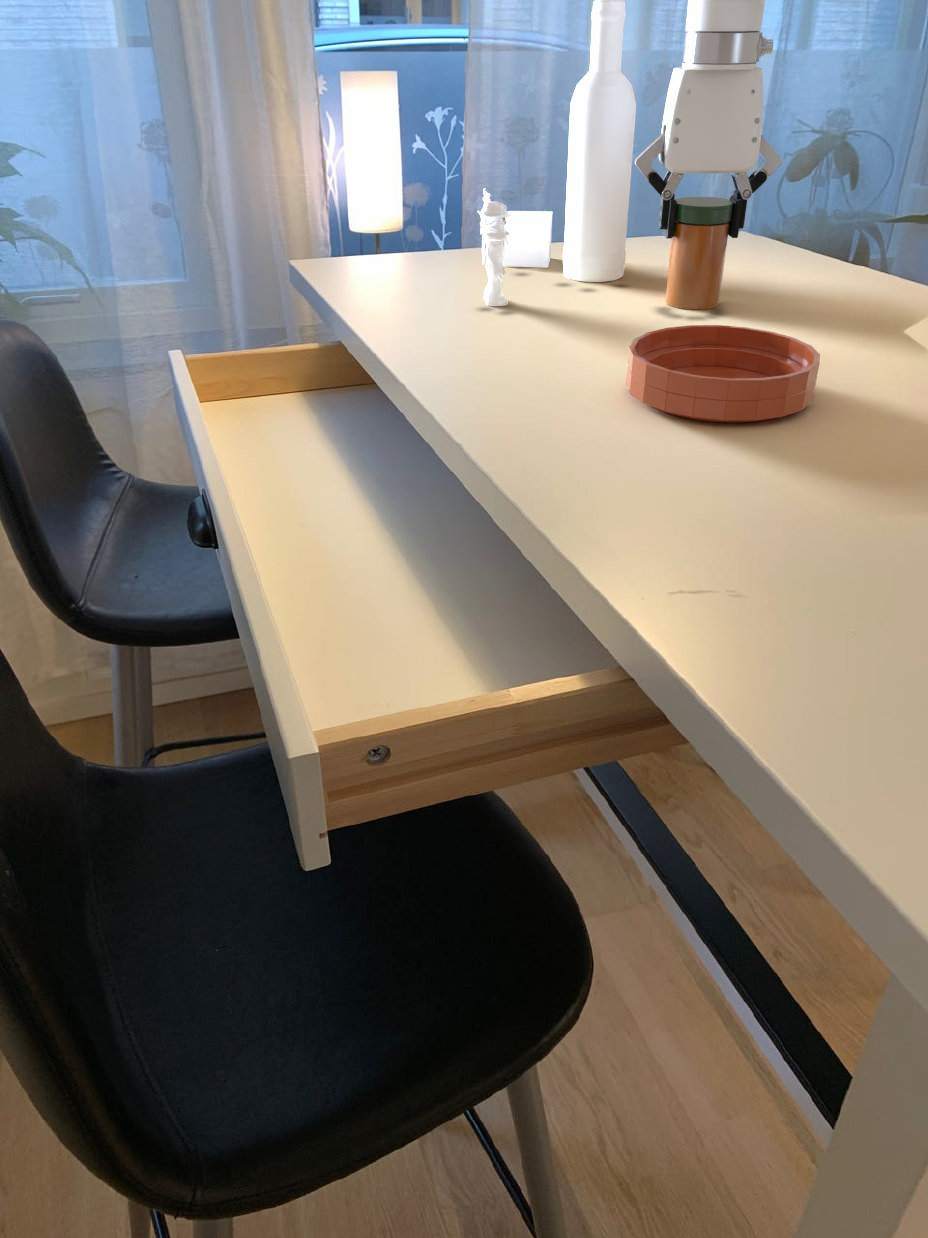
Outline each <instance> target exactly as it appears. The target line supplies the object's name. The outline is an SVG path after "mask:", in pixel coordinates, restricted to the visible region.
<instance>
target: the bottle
mask: <svg viewBox="0 0 928 1238" xmlns="http://www.w3.org/2000/svg"><path fill="white" fill-rule="evenodd" d="M592 4H593V5H592V11H591V14H590V15H591V16H590V18H591V40H590V56H589V57H590V59H589V60H590V61H589V70H588V71H587V73H586V74H585V75H584V76H583V77H582V79H580V81H579V82H578V83H577V84H576V87H575V90H574V92H573V95H572V98H571V101H570V107H569V109H570V110H569V129H568V130H569V131H568V154H567V174H566V175H567V177H566V196H565V197H566V198H565V199H566V200H565V218H564V219H565V221H564V222H565V224H564V242H563V243H564V245H563V251H562V265H563V267H562V275H563V276H564V277H565V278H566V279H569V280H571V281H572V280H573V281H576V282H585V283H606V282H613V281H617V280H619V279H621V278H622V277H624V271H625V265H626V258H627V251H626V245H627V234H628V233H627V232H628V219H629V205H630V195H631V182H632V181H631V180H632V169H633V156H634V155H633V153H634V141H635V129H636V128H635V126H636V115H637V113H636V112H637V101H636V96H635V92H634V87H633V84H632V83H631V82H630V81H629V79H628V78H627V77H626V75H625V74H624V73H623V72H622V59H623V45H624V44H623V43H624V32H625V31H624V29H625V20H626V17H627V12H626V1H625V0H594V1H593V3H592Z"/></svg>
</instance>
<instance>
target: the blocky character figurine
mask: <svg viewBox="0 0 928 1238" xmlns="http://www.w3.org/2000/svg"><path fill="white" fill-rule="evenodd" d="M482 191H483V195H484V196H482V202H484V203H483V207H482V208H481V211H480V210H477V213H478V214H479V216H480V220H481V221H480V222H479V224H480V235H482V237H481V239H482V240H481V256H482V265H485V269H486V272H487V277H488V283H487V285H486V287H485V289H484V292H483V294H484V295H483V300H484V301H485V305H486V306H488V307H504V306H507V305H508V299H507V298H506V296H505V293H502V292H503V285H504V284H503V278H506V276H507V275H506V274H507V273H506V270H505V269H506V267H505V266H504V264H503V263H504V239H506V243H507V245H508V241H507V238H506V235H510V234H509V233H508V232H507V231H505V230H504V225H505V224H506V217H510V216H512V214H510V213H507V212H508V207H507V205H506V204H504V203H502V202H499V201H498V200H494V201H492V199H491V197H492V194H491V193H489V192H488V191H486V188H483V190H482ZM485 249H486V250H485ZM485 257H486V261H485Z"/></svg>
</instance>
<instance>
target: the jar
mask: <svg viewBox="0 0 928 1238" xmlns="http://www.w3.org/2000/svg"><path fill="white" fill-rule="evenodd" d="M729 224H730V222H726V223H721V224H691V223H683V222H678V221H675V227H674V236H673V237H672V238H671V239H670V248H669V258H668V268H667V279H666V288H665V296H664V297H665V298H664V303H665V302H666V303H667V304H666V303H665V304H666V305H668V304H669V305H668V306H670V305H671V306H670V307H672V308H676V309H680V310H681V309H682V310H692V311H693V310H696V311H697V310H710V309H714V308H717V307H719V305H720V301H721V293H722V285H723V278H724V270H725V262H726V254H727V246H728V239H729V235H728V232H729ZM677 307H678V308H677ZM683 308H684V309H683Z"/></svg>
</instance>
